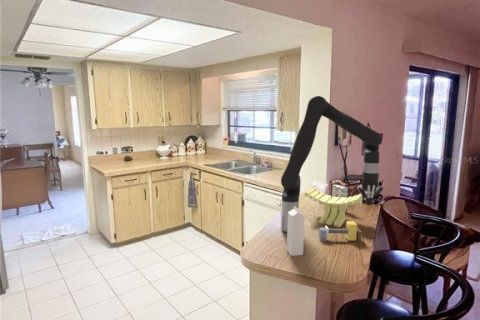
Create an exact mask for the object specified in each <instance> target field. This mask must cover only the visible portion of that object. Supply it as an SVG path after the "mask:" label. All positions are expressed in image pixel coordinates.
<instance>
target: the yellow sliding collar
mask: <svg viewBox="0 0 480 320" xmlns="http://www.w3.org/2000/svg"><path fill="white" fill-rule="evenodd" d="M357 227H358V224H357V223H356V222H355V220H353V221H352V220H350V221H349V220H345V229H348V234H345V238H346V240H347V241H348V242H349V241H352V242H353V241H354V242H355V241H356V242H357V240H356V235H357Z"/></svg>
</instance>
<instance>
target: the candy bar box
mask: <svg viewBox="0 0 480 320" xmlns="http://www.w3.org/2000/svg"><path fill="white" fill-rule="evenodd" d="M331 188H332V189H331V196H332V197H333V196H334V197H340V198H341V197H347V198H348V197H349V196H348V195H349V188H348V187H346V186H342V185H341V184H332V187H331ZM347 211H348V206H347V207H346V209H345V213H347Z"/></svg>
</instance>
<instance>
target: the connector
mask: <svg viewBox="0 0 480 320" xmlns="http://www.w3.org/2000/svg"><path fill="white" fill-rule="evenodd" d="M326 234H327V230H326V229H325V227H318V239H319V241H322V242H326V241H327V236H326Z"/></svg>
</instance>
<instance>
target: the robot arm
mask: <svg viewBox="0 0 480 320" xmlns="http://www.w3.org/2000/svg"><path fill="white" fill-rule="evenodd" d="M322 117H324V118H326V119H328V120H330V121H331V122H333V123H334V124H335V125H337V126H338V127H340V128H342V130H345V131H346V132H347V133H349V134H351V135H352V136H353V137H356V138H358V139H359V140H361V141H363V142H364V154H363V165H362V168H361V169H362V173H361V174H362V176H361V183H360V185H358V186H356V189H357V191H358V192H359V194H362V197H364V198H365V204H366V206H372V204H373V198H377V197H378V195H380V193H382V191H383V190H384V187H382V186H380V184H379V177H380V150H379V149H380V144H381V142H382V136H381V134H380V133H379V132H377V131H376V130H374V129H373V128H369V127H368V126H366V125H365V124H363V123H362V122H361V121H359V120H357V119H355V118H353V117H352V116H350V115H348V114H346V113H344V112H342V111H341V110H339V109H337V108H336V107H334V106H333V105H332V104H330V102H329V101H327V100H326V99H325V97H323V96H320V95H314V96H312V97H311V98H309V100H308V102H307V107H306V112H305V114H304V118H303V122H302V124H301V125H300V128H299V130H298V132H297V135H296V138H295V140H294V142H293V147H292V149H291V153H290V156H289V159H288V163H287V166H286V168H285V170H284V172H283V173H282V175H281V179H280V184H281V186H282V187H283V191H282V195H281V212H280V229H281V230H280V231H281V232H283V233H287V225H288V212H289V211H291V210H292V209H294V206H295V207H296V208H298V210H299V207H300V206H299V203H300V202H299V201H300V194H301V183H302V182H301V181H302V180H301V176H300V173H301V170H302V167H303V166H304V163H305V162H306V160H307V158H308V157H309V155H310V153H311V151H312V148H313V145H314V142H315V138H316V133H317V129H318V125H319V123H320V121H321V119H322Z"/></svg>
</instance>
